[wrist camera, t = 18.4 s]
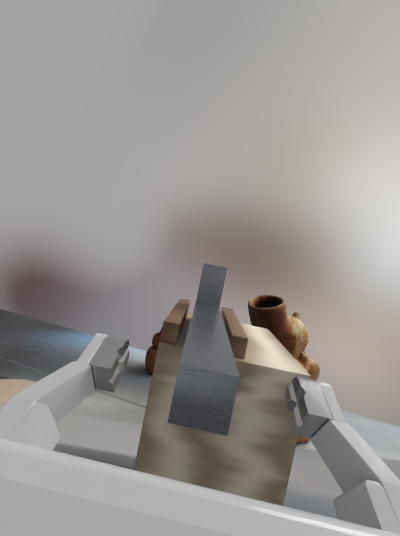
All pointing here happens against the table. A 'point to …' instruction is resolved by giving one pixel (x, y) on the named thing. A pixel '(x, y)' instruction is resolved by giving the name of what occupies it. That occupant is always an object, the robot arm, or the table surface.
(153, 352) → the wooden figurine
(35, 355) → the table surface
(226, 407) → the bracket
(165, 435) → the stand
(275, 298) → the ceramic vessel
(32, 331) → the table surface
